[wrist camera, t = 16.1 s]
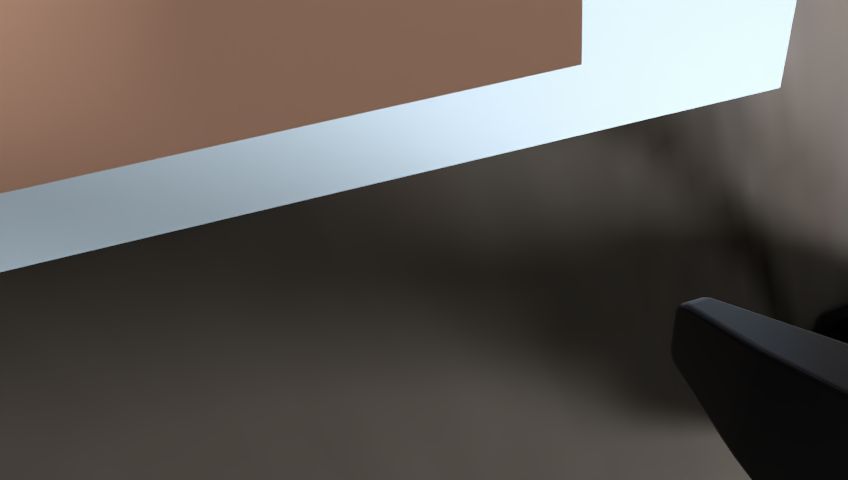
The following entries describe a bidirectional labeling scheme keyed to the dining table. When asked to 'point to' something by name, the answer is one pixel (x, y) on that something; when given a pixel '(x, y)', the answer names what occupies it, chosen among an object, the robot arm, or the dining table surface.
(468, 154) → the blueprint board
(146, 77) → the peach block
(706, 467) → the dining table surface
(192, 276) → the dining table surface
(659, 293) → the dining table surface
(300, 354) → the dining table surface
